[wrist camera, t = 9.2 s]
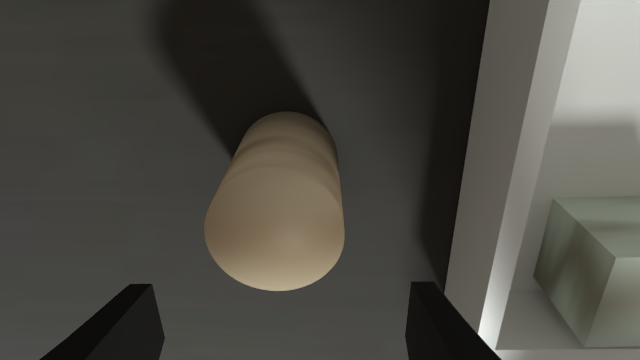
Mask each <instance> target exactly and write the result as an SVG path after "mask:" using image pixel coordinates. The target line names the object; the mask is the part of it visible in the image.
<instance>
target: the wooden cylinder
mask: <svg viewBox="0 0 640 360" xmlns="http://www.w3.org/2000/svg"><path fill="white" fill-rule="evenodd" d="M204 233H205V240H206V244H207V247H208V249H209V252H210V254H211V255H212V257H213V259H214V260H215V261H216V263H217V264H218V265H219V266H220V267H221V268H222V269H223V270H224V271H225V272H226V273H227V274H229V275H230V276H231V277H233V278H234V279H236V280H237V281H239V282H242V283H244V284H246V285H249V286H251V287H254V288H258V289H263V290H270V291H285V290H292V289H297V288H301V287H304V286H307V285H309V284H311V283H313V282H315V281H317V280H319V279H320V278H321V277H323V276H324V275H325V274H326V273H328V272H329V271H330V270H331V268H332V267H333V266H334V265H335V263H336V262H337V260H338V259H339V257H340V254H341V252H342V249H343V245H344V237H345V233H344V221H343V210H342V200H341V189H340V179H339V168H338V158H337V150H336V146H335V143H334V141H333V139H332V137H331V135H330V134H329V132H328V131H327V130H326V128H325V127H324V126H323V125H322V124H320V123H319V122H318V121H316V120H315V119H313V118H311V117H309V116H307V115H304V114H301V113H297V112H288V111H284V112H276V113H272V114H269V115H266V116H264V117H262V118H260V119H259V120H257V121H256V122H255V123H254V124H253V125H252V126H250V128H249V129H248V130H247V131H246V133H245V135H244V136H243V139H242V141H241V143H240V145H239V147H238V149H237V151H236V153H235V155H234V157H233V159H232V161H231V163H230V165H229V168H228V170H227V172H226V174H225V176H224V178H223V180H222V182H221V184H220V186H219V188H218V190H217V192H216V194H215V197H214V199H213V201H212V203H211V205H210V207H209V209H208V212H207V214H206V218H205V225H204Z"/></svg>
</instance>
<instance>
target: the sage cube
mask: <svg viewBox="0 0 640 360" xmlns="http://www.w3.org/2000/svg"><path fill="white" fill-rule="evenodd" d="M533 276H534V278H535V279H536V281H537V282H538V283H539V285H540V286H541V288H542V289H543V290H544V292H545V293H546V294H547V296H548V297H549V299H550V300H551V301H552V303H553V304H554V306H555V307H556V308H557V310H558V311H559V313H560V314H561V315H562V317H563V318H564V320H565V321H566V322H567V324H568V325H569V327H570V328H571V329H572V331H573V332H574V334H575V335H576V336H577V338H578V339H579V341H580V342H581V343H582V345H583V346H584V347H626V346H640V196H622V197H576V198H553V200H552V204H551V208H550V212H549V216H548V220H547V224H546V228H545V232H544V236H543V239H542V243H541V247H540V251H539V255H538V259H537V263H536V267H535V271H534V275H533Z"/></svg>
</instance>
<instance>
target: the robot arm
mask: <svg viewBox="0 0 640 360" xmlns="http://www.w3.org/2000/svg"><path fill="white" fill-rule="evenodd" d="M405 338H406V344H407V350H408V356H409V360H502V359H501V358H500V357H499V356H498V355H497V354H496V353H495V352H494V351H493V350H492V349H491V348H490V347H489V346H488V345H487V344H486V343H485V341H484V340H483V339H482V338H481V337H480V336H479V335H478V334H477V333H476V331H475V330H474V329H473V328H472V327H471V326H470V325H469V324H468V322H467V321H466V320H465V319H464V318H463V317H462V315H461V314H460V313H459V312H458V311H457V309H456V308H455V307H454V306H453V305H452V303H451V302H450V301H449V300H448V298H447V297H446V296H445V295H444V293H443V292H442V291H441V290H440V288H439V287H438V286H437V285H436V284H435V283H434V282H411V290H410V298H409V307H408V316H407V325H406V333H405ZM164 339H165V336H164V332H163V328H162V324H161V320H160V316H159V311H158V307H157V303H156V299H155V295H154V291H153V286H152V284H130V285H128V286H127V287H126V288H125V289H123V290H122V291H121V292H120V293H119V294H118V295H116V296H115V297H114V298H113V299H112V300H111V301H109V302H108V303H107V304H106V305H105V306H104V307H103V308H101V309H100V310H99V311H98V312H97V313H96V314H95V315H93V316H92V317H91V318H90V319H89V320H87V321H86V322H85V323H84V324H83V325H82V326H80V327H79V328H78V329H77V330H76V331H75V332H73V333H72V334H71V335H70V336H69V337H67V338H66V339H65V340H64V341H63V342H61V343H60V344H59V345H58V346H56V347H55V348H54V349H52V350H51V351H50V352H49V353H47V354H46V355H45V356H44V357H42V358H41V359H40V360H159V357H160V353H161V350H162V346H163V343H164Z"/></svg>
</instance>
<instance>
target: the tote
mask: <svg viewBox="0 0 640 360" xmlns="http://www.w3.org/2000/svg"><path fill="white" fill-rule="evenodd" d="M622 196H640V0H490V4H489V10H488V16H487V23H486V29H485V36H484V42H483V48H482V55H481V61H480V68H479V74H478V81H477V87H476V93H475V100H474V106H473V113H472V119H471V125H470V132H469V138H468V145H467V151H466V157H465V164H464V170H463V177H462V183H461V190H460V196H459V202H458V209H457V215H456V222H455V228H454V234H453V241H452V247H451V254H450V260H449V266H448V273H447V279H446V286H445V292H444V295H445V296H446V297H447V298H448V300H449V301H450V302H451V303H452V305H453V306H454V307H455V308H456V309H457V311H458V312H459V313H460V314H461V315H462V317H463V318H464V319H465V320H466V321H467V322H468V324H469V325H470V326H471V327H472V328H473V329H474V330H475V331H476V333H477V334H478V335H479V336H480V337H481V338H482V339H483V340H484V341H485V343H486V344H487V345H488V346H489V347H490V348H491V349H492V350H493V351H494V352H495V353H496V354H497V355H498V356H499V357H500V358H501V359H502V360H640V346H626V347H584V346H583V345H582V343H581V342H580V341H579V339H578V338H577V336H576V335H575V334H574V332H573V331H572V329H571V328H570V327H569V325H568V324H567V322H566V321H565V320H564V318H563V317H562V315H561V314H560V313H559V311H558V310H557V308H556V307H555V306H554V304H553V303H552V301H551V300H550V299H549V297H548V296H547V294H546V293H545V292H544V290H543V289H542V288H541V286H540V285H539V283H538V282H537V281H536V279H535V278H534V276H533V275H534V271H535V267H536V263H537V259H538V255H539V251H540V247H541V243H542V239H543V236H544V232H545V228H546V224H547V220H548V216H549V212H550V208H551V204H552V200H553V198H576V197H622Z"/></svg>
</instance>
